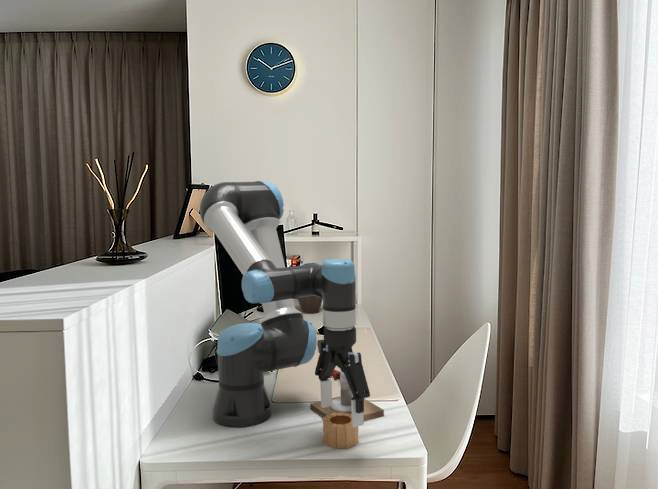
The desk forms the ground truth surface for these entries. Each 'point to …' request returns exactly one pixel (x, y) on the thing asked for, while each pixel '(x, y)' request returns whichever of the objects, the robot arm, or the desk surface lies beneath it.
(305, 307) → the plant pot
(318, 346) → the phone
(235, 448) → the desk surface
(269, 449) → the desk surface
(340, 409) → the bobbin stand
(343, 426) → the light wood ring
